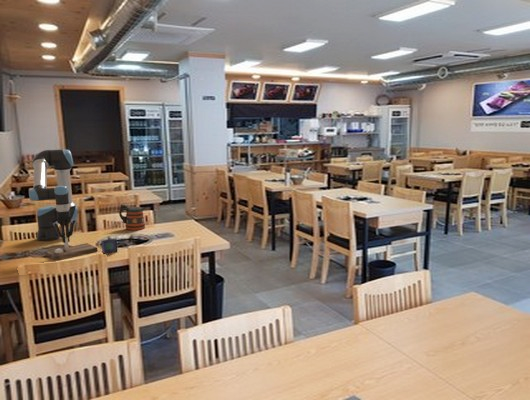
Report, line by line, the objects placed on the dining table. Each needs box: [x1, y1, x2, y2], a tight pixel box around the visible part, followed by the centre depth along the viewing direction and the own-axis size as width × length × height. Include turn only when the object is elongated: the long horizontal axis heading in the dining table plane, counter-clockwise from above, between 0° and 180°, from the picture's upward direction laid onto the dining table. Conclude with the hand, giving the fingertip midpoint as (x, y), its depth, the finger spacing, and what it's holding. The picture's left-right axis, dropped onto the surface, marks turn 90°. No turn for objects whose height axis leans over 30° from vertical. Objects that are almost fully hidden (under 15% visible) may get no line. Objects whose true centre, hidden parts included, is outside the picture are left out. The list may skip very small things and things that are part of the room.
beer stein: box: [118, 204, 146, 231], centre depth 325 cm, size 19×15×20 cm
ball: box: [54, 247, 64, 253], centre depth 256 cm, size 5×5×5 cm
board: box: [45, 242, 98, 261], centre depth 261 cm, size 16×26×2 cm, turn 136°
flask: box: [100, 235, 118, 254], centre depth 261 cm, size 9×3×11 cm, turn 117°
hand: (66, 247), depth 259 cm, fingers closed
